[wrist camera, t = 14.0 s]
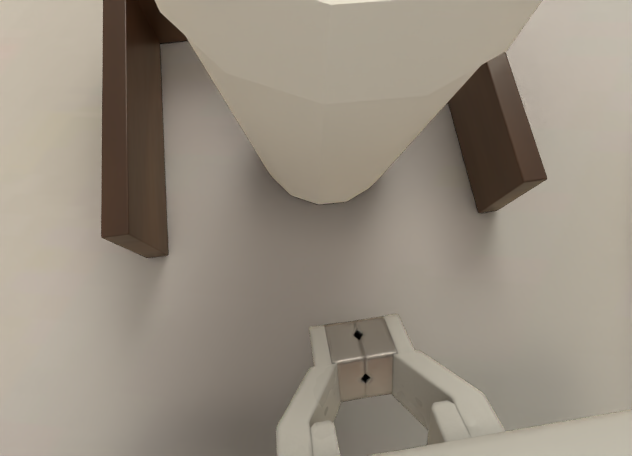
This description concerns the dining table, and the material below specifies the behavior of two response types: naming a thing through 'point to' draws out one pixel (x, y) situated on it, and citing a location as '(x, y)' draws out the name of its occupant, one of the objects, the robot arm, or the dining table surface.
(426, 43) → the foam cup
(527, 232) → the dining table surface
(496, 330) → the dining table surface
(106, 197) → the bay
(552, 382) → the dining table surface
